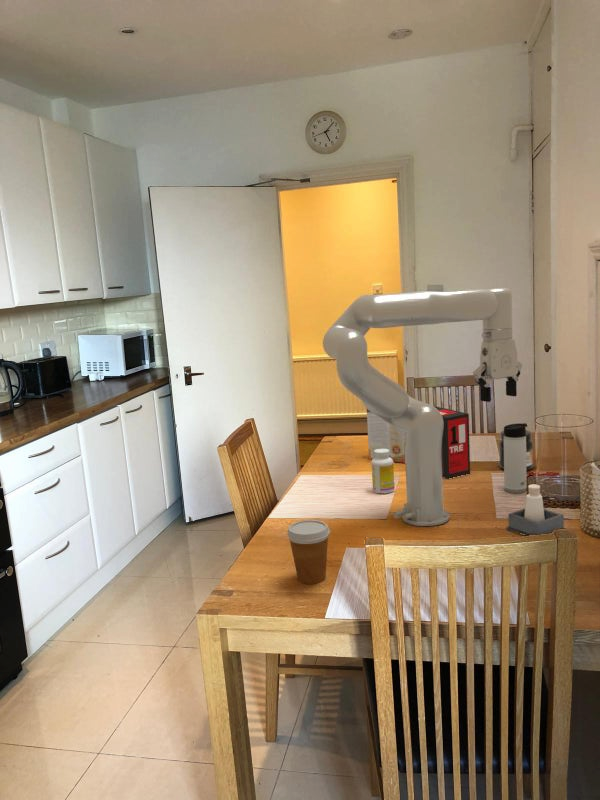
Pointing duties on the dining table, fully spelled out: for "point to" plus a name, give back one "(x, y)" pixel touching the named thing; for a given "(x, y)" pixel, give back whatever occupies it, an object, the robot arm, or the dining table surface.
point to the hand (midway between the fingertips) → (498, 398)
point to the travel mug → (515, 458)
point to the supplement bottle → (382, 472)
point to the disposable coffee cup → (309, 549)
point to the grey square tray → (535, 523)
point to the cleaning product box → (455, 443)
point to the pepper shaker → (534, 504)
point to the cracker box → (385, 438)
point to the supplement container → (528, 451)
